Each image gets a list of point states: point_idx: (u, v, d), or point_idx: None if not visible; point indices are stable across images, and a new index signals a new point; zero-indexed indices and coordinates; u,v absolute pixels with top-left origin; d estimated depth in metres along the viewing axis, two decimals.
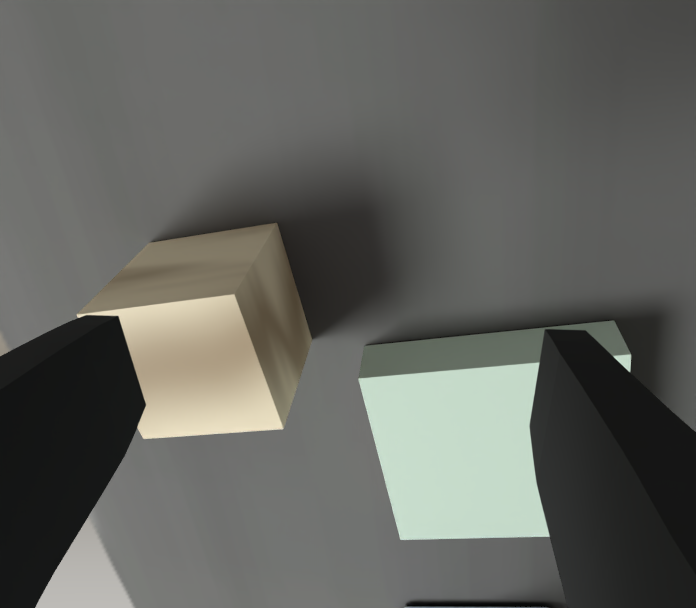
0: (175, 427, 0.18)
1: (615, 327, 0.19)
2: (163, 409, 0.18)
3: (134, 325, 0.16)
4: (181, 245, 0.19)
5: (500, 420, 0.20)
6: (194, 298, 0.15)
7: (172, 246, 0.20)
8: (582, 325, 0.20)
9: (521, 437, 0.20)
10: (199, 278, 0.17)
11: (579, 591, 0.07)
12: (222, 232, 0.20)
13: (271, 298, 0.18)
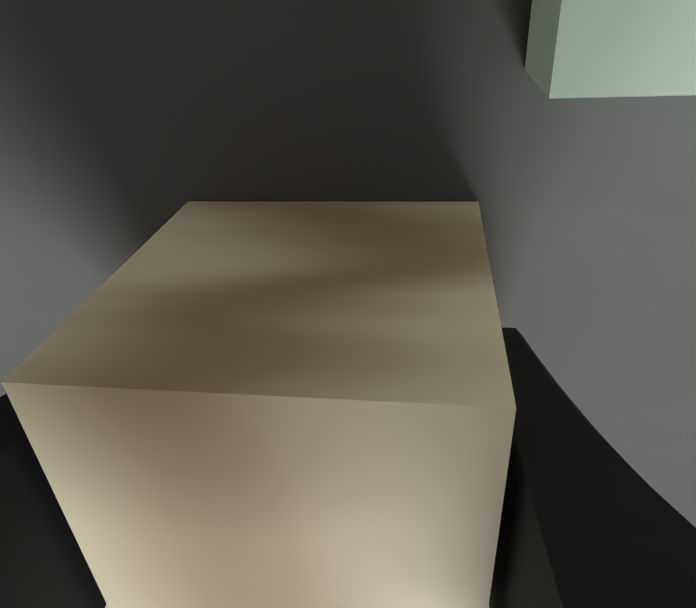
0: None
1: None
2: None
3: (138, 585, 0.07)
4: None
5: None
6: (43, 465, 0.06)
7: None
8: None
9: None
10: None
11: (494, 583, 0.07)
12: None
13: (225, 273, 0.07)
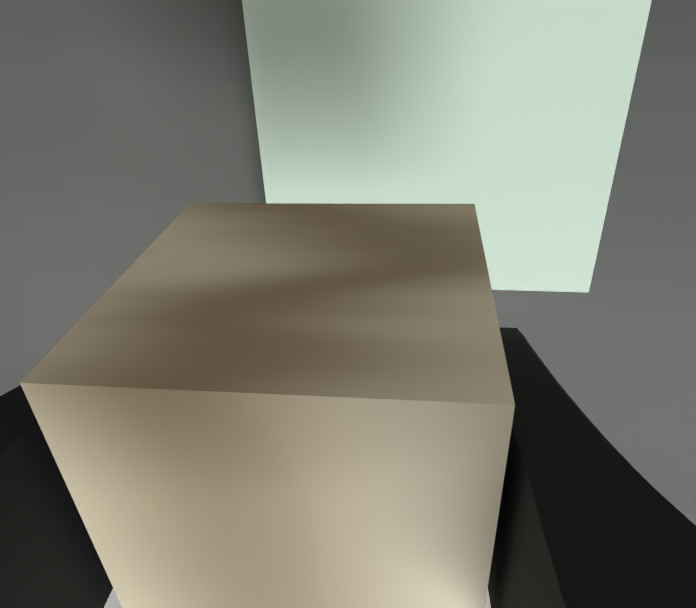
0: None
1: None
2: None
3: (148, 578, 0.07)
4: None
5: (351, 122, 0.14)
6: (58, 462, 0.06)
7: None
8: None
9: (387, 92, 0.14)
10: None
11: (496, 583, 0.07)
12: None
13: (231, 276, 0.08)
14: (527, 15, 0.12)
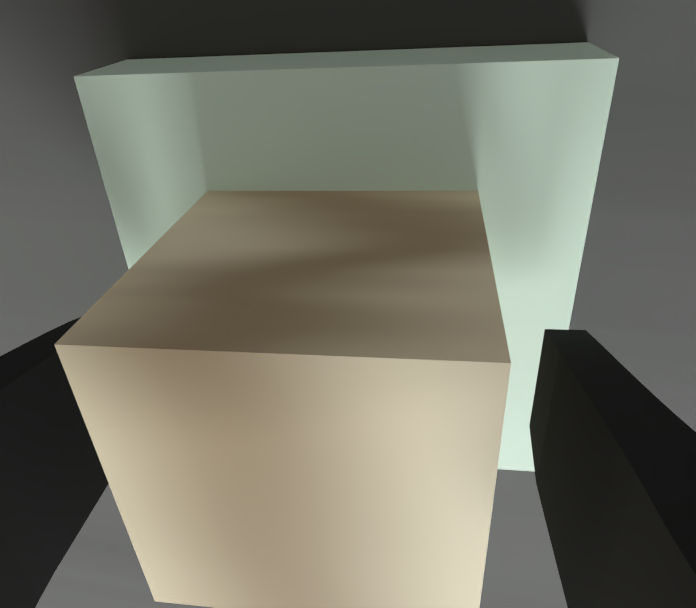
0: (453, 577, 0.08)
1: None
2: (392, 576, 0.08)
3: (167, 537, 0.08)
4: None
5: None
6: (87, 422, 0.07)
7: None
8: None
9: None
10: None
11: (579, 591, 0.07)
12: None
13: (247, 254, 0.08)
14: (444, 186, 0.10)
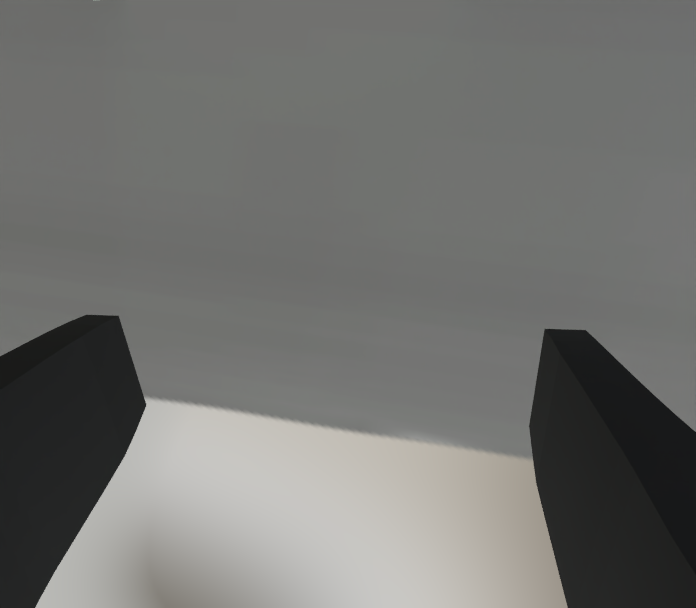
0: None
1: None
2: None
3: None
4: None
5: None
6: None
7: None
8: None
9: None
10: None
11: (579, 591, 0.07)
12: None
13: None
14: None
